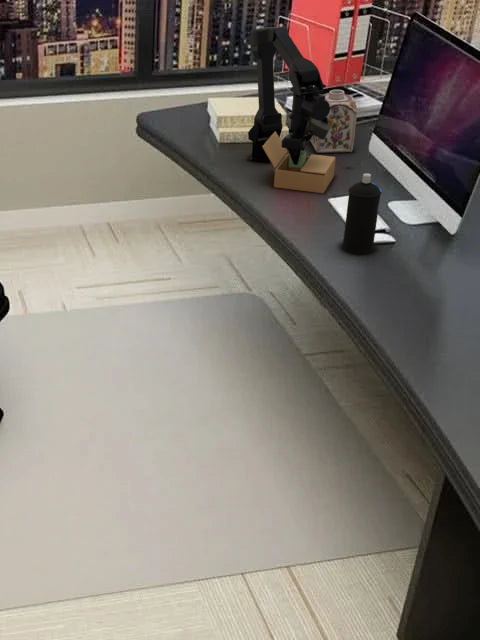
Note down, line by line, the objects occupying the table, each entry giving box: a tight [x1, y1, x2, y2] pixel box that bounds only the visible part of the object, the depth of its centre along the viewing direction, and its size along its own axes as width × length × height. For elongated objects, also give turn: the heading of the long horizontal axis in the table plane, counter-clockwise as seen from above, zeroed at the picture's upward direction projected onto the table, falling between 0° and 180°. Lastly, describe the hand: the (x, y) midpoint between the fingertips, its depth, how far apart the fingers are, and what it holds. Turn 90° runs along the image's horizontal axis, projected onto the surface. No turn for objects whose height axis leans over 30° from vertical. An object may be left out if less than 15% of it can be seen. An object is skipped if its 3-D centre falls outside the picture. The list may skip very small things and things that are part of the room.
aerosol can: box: [341, 173, 383, 255], centre depth 255 cm, size 8×8×20 cm
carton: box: [273, 153, 336, 194], centre depth 298 cm, size 15×14×6 cm
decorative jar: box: [309, 89, 358, 154], centre depth 318 cm, size 12×12×18 cm
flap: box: [262, 131, 288, 169], centre depth 298 cm, size 7×14×1 cm
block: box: [289, 150, 307, 168], centre depth 297 cm, size 4×4×4 cm
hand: (297, 162), depth 297 cm, fingers closed on block, 4 cm apart
